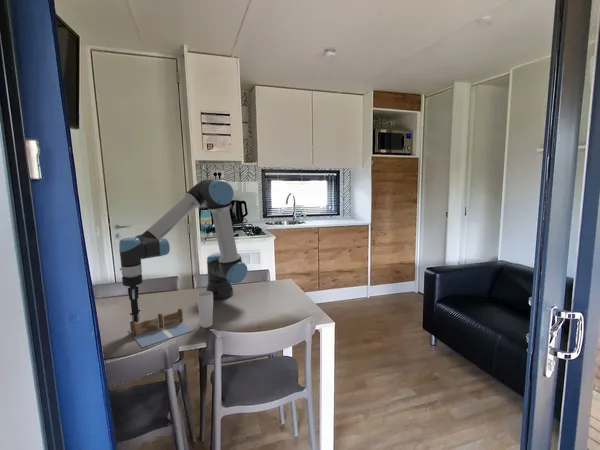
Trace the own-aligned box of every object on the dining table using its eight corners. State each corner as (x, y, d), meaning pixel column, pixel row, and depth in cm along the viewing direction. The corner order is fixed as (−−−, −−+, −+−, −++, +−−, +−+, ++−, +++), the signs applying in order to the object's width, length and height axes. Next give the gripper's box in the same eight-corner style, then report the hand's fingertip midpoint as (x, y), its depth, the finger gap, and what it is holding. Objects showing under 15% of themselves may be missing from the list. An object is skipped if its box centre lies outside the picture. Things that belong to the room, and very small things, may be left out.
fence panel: (162, 325, 147) (161, 313, 146) (163, 327, 145) (163, 314, 144) (130, 335, 138) (129, 321, 137) (131, 336, 137) (130, 323, 136)
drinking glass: (200, 322, 151) (198, 291, 149) (215, 321, 151) (214, 290, 149) (197, 329, 144) (195, 296, 142) (213, 328, 145) (211, 295, 142)
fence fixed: (163, 325, 147) (162, 313, 146) (182, 320, 152) (181, 308, 151) (165, 327, 146) (164, 314, 145) (183, 321, 151) (182, 309, 150)
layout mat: (128, 330, 143) (128, 330, 143) (176, 316, 157) (176, 316, 157) (142, 347, 129) (141, 347, 129) (193, 330, 143) (193, 330, 143)
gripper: (122, 271, 143) (126, 323, 146) (121, 280, 131) (126, 336, 135) (141, 269, 146) (145, 320, 150) (142, 277, 134) (146, 332, 138)
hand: (136, 327), depth 142 cm, fingers closed
